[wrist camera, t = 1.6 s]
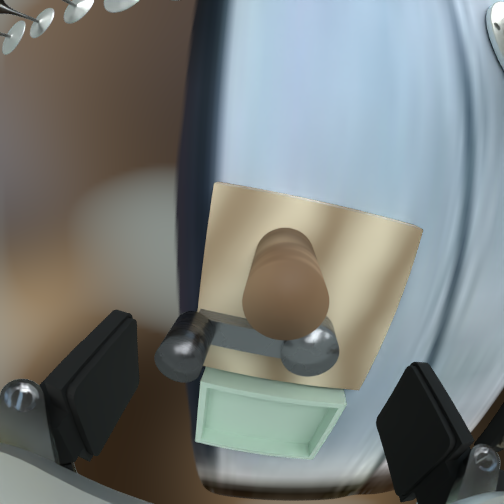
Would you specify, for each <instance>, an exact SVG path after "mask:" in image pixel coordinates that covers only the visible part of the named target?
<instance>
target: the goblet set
mask: <svg viewBox="0 0 504 504" xmlns="http://www.w3.org/2000/svg"><path fill="white" fill-rule="evenodd" d="M63 1H64V2H66V3H68V4H69V5H68V7H67V9H66V11H65V13H64V21H65V22H66V23H74V22H76V21H78V20H80V19H81V18H82V17H83V16H85V15H86V14H87V12H88V11H89V10H90V8H91V7H92V5H93V3H94V0H73V1H72V2H71V1H69V0H63ZM174 1H175V0H174ZM137 2H139V0H104V7H105V9H106V10H107V11H109V12H113V13H116V12H121V11H124V10H127V9H128V8H130V7H132V6H133V5H135V4H136V3H137ZM0 14H12V15H16V16H19V17H23V18H26V19H29V20H32V21H34V23H33V25H32V27H31V30H30V35H31V37H32V38H37V37H39V36H40V35H42V34H43V32H45V31H46V29H47V28H48V27H49V25H50V24H51V22H52V20H53V17H54V10H53V9H52V8H48V9H46V10H44V11H43V12H41V13H40V15H39V16H38V17H37V18H36V19H34V18H32V17H30V16H27V15H25V14H23V13H20V12H18V11H16V10H14V9H12V8H11V7H9V6H8V5H7V4H6V3H5V2H4V0H0ZM24 31H25V22H24V21H19V22H17V23H16V24H15V25H14V26H13V27H12V28H11V29H10V31H9V32H8V34H4V33H0V36H4V37H6V38H5V40H4V43H3V47H2V52H3V54H5V55H6V54H9V53H11V52H12V51H13V50H14V49H15V48H16V46H17V45H18V43H19V42H20V40H21V38H22V36H23V34H24Z"/></svg>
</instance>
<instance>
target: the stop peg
mask: <svg viewBox="0 0 504 504" xmlns="http://www.w3.org/2000/svg"><path fill="white" fill-rule="evenodd" d="M242 307H243V312H244V315H245V317H246V319H247V321H248V322H249V324H250V325H251V326H252V327H253V328H254V329H255V330H256V331H257V332H259V333H260V334H262V335H264V336H266V337H269V338H272V339H276V340H294V339H299V338H302V337H304V336H306V335H308V334H310V333H312V332H313V331H314V330H316V329H317V328H318V327H319V326H320V325H321V323H322V322H323V321H324V319H325V317H326V315H327V312H328V309H329V294H328V290H327V287H326V284H325V281H324V278H323V275H322V272H321V269H320V266H319V263H318V260H317V258H316V255H315V252H314V249H313V246H312V244H311V242H310V240H309V239H308V238H307V237H306V236H305V235H304V234H303V233H301V232H300V231H298V230H295V229H292V228H278V229H274V230H272V231H270V232H268V233H267V234H266V235H264V236H263V237H262V239H261V240H260V242H259V243H258V245H257V248H256V252H255V255H254V258H253V262H252V265H251V269H250V272H249V276H248V279H247V282H246V286H245V289H244V293H243V298H242Z"/></svg>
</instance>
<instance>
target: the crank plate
mask: <svg viewBox="0 0 504 504" xmlns="http://www.w3.org/2000/svg"><path fill="white" fill-rule="evenodd" d="M278 228H292V229H295V230H298V231H300V232H301V233H303V234H304V235H305V236H306V237H307V238H308V239H309V240H310V242H311V244H312V246H313V249H314V252H315V255H316V258H317V260H318V263H319V266H320V269H321V272H322V275H323V278H324V281H325V284H326V287H327V290H328V294H329V309H328V312H327V315H326V316H327V317H328V318H329V319H330V320H331V322H332V324H333V327H334V330H335V334H336V338H337V341H338V345H339V357H338V360H337V362H336V363H335V365H334V366H333V367H332V368H331V369H329V370H328V371H326V372H325V373H322V374H320V375H316V376H310V377H305V376H299V375H296V374H293V373H291V372H290V371H288V370H287V369H286V368H285V367H284V365H283V363H282V361H281V359H280V358H275V357H269V356H263V355H258V354H253V353H248V352H243V351H238V350H233V349H228V348H224V347H219V346H215V345H211V346H210V348H209V351H208V354H207V356H206V359H205V362H204V364H203V366H207V367H211V368H215V369H219V370H224V371H229V372H233V373H238V374H243V375H248V376H253V377H259V378H265V379H270V380H276V381H283V382H289V383H296V384H304V385H311V386H320V387H329V388H339V389H351V390H359V389H360V387H361V386H362V384H363V382H364V380H365V378H366V376H367V374H368V372H369V370H370V368H371V366H372V364H373V362H374V360H375V358H376V356H377V354H378V351H379V349H380V347H381V345H382V343H383V340H384V338H385V336H386V334H387V331H388V329H389V327H390V324H391V322H392V320H393V317H394V315H395V312H396V310H397V307H398V305H399V302H400V299H401V297H402V294H403V291H404V289H405V286H406V283H407V280H408V277H409V274H410V271H411V268H412V265H413V262H414V259H415V256H416V253H417V250H418V246H419V243H420V239H421V236H422V232H423V229H421V228H419V227H417V226H415V225H412V224H409V223H405V222H402V221H398V220H394V219H391V218H387V217H383V216H379V215H375V214H371V213H367V212H363V211H359V210H355V209H351V208H347V207H343V206H338V205H334V204H330V203H325V202H321V201H316V200H312V199H307V198H302V197H298V196H293V195H288V194H283V193H278V192H273V191H268V190H262V189H257V188H251V187H246V186H240V185H234V184H229V183H223V182H217V183H214V188H213V194H212V201H211V208H210V215H209V222H208V229H207V236H206V244H205V252H204V259H203V268H202V276H201V285H200V294H199V303H198V312H199V311H200V309H205V310H209V311H214V312H218V313H223V314H227V315H232V316H237V317H242V318H246V317H245V315H244V312H243V307H242V298H243V293H244V289H245V286H246V282H247V279H248V276H249V272H250V269H251V265H252V262H253V258H254V255H255V252H256V248H257V245H258V243H259V242H260V240H261V239H262V237H263V236H264V235H266V234H267V233H268V232H270V231H272V230H274V229H278Z"/></svg>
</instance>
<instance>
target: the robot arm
mask: <svg viewBox="0 0 504 504" xmlns="http://www.w3.org/2000/svg"><path fill="white" fill-rule="evenodd" d="M486 23H487V29H488V33H489V37H490V40H491V43H492V46H493V49H494V51H495V53H496V55H497V58H498V60H499V62H500V64H501V66H502V68H503V70H504V2H497V3H494V4H493V5H492V6H490V7H489V9H488V11H487V15H486ZM138 384H139V368H138V349H137V322H136V320H135V319H133V318H132V315H131V314H130V313H126V312H122V311H119V310H114V311H112V312H111V313H110V315H108V316H107V317H106V318H105V319H104V320H103V321H102V322H101V323H100V324H99V325H98V326H97V327H96V328H95V329H94V330H93V331H92V332H91V333H90V334H89V335H88V336H87V337H86V338H85V339H84V340H83V341H82V342H80V343H79V345H77V346H76V347H75V348H74V350H72V351H71V352H70V354H69V355H68V356H67V357H66V358H65V359H64V360H63V361H62V362H61V363H60V364H59V365H58V366H57V367H56V368H55V369H54V370H53V371H52V373H50V374H49V376H48V377H47V378H46V379H45V380H44V381H43V382H42V383H41V384H40V385H38V384H36V383H35V382H34V381H31V380H28V379H17V380H13V381H11V382H9V383H8V384H6V385H5V386H4V387H3V389H2V391H1V393H0V504H153V503H150V502H146V501H143V500H141V499H137V498H135V497H132V496H129V495H126V494H124V493H121V492H118V491H116V490H113V489H111V488H108V487H106V486H103V485H101V484H99V483H97V482H94V481H92V480H90V479H88V478H86V477H83V476H81V475H79V474H77V472H76V468H75V465H74V462H75V461H76V460H77V458H78V456H79V457H81V458H83V459H85V460H87V461H90V460H91V458H92V457H93V455H94V456H98V455H99V454H100V452H101V450H102V448H103V447H104V445H105V443H106V441H107V439H108V438H109V436H110V434H111V432H112V431H113V429H114V427H115V425H116V424H117V422H118V420H119V418H120V417H121V415H122V413H123V411H124V410H125V408H126V406H127V404H128V402H129V401H130V399H131V398H132V396H133V394H134V392H135V391H136V389H137V387H138ZM376 425H377V429H378V432H379V435H380V439H381V442H382V446H383V449H384V452H385V456H386V459H387V463H388V467H389V470H390V474H391V478H392V482H393V485H394V489H395V493H396V494H397V495H398V496H399V498H400V502H405V501H410V500H413V499H415V498H416V499H417V503H416V504H504V471H503V470H501V469H500V458H499V456H498V454H497V452H496V451H495V450H494V449H493V448H492V447H490V446H488V445H485V444H478V445H475V446H474V447H473V448H472V449H470V447H469V446H470V445H471V444H472V443H473V442H474V439H473V437H472V435H471V433H470V431H469V430H468V428H467V426H466V424H465V422H464V421H463V419H462V417H461V415H460V414H459V412H458V410H457V409H456V407H455V405H454V403H453V402H452V400H451V398H450V397H449V395H448V393H447V392H446V390H445V389H444V387H443V385H442V384H441V382H440V381H439V379H438V377H437V376H436V374H435V373H434V371H433V370H432V368H431V366H430V365H429V364H428V363H425V362H413V363H412V364H411V365H410V366H408V367H407V368H406V369H405V371H404V373H403V375H402V377H401V379H400V380H399V382H398V384H397V386H396V387H395V389H394V391H393V393H392V394H391V396H390V398H389V399H388V401H387V403H386V404H385V406H384V407H383V409H382V411H381V412H380V414H379V415H378V417H377V421H376Z"/></svg>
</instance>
